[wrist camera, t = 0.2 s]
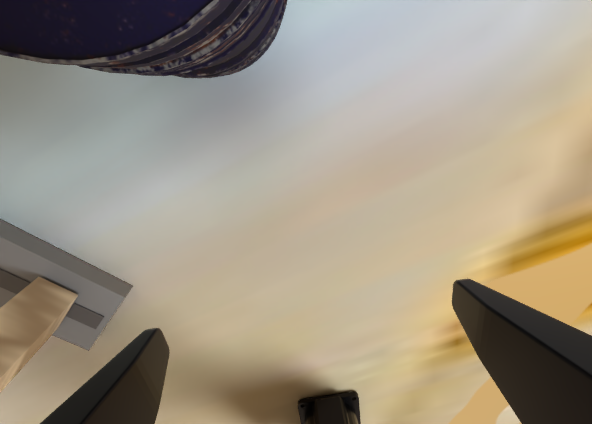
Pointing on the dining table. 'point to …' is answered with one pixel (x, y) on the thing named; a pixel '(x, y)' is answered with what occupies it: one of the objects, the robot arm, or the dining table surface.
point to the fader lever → (30, 324)
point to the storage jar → (142, 34)
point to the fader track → (60, 283)
